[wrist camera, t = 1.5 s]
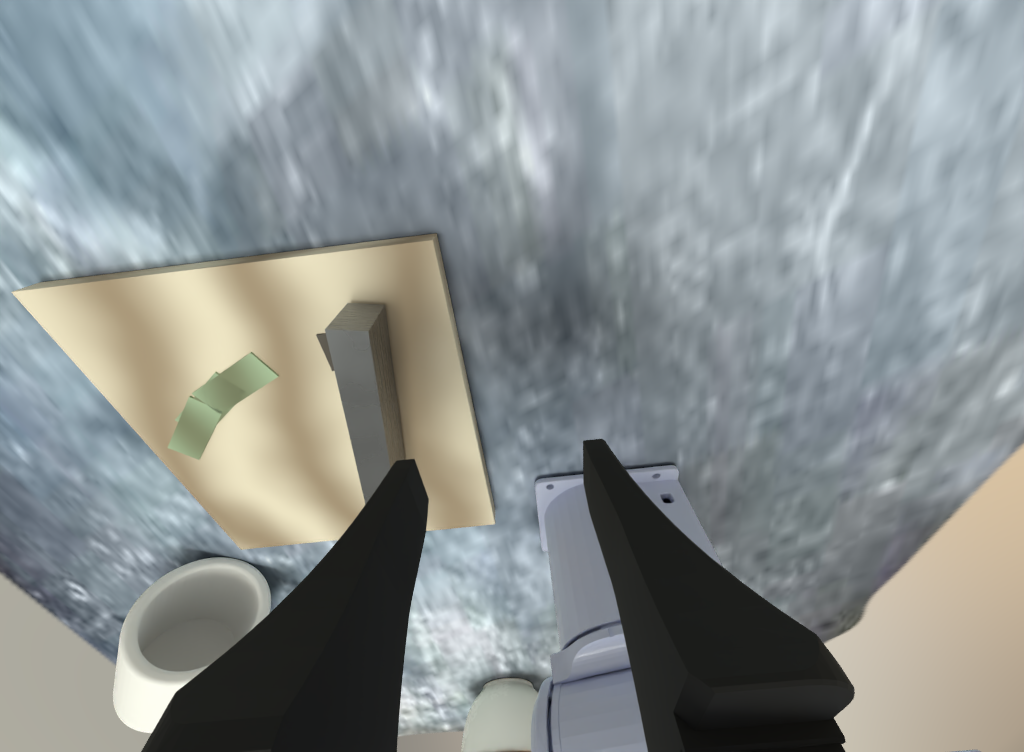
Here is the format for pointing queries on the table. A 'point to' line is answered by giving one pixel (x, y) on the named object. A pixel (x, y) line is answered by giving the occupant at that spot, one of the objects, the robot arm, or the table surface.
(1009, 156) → the table surface
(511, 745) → the lidded jar
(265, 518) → the board
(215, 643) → the mug
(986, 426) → the table surface
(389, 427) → the pointer
